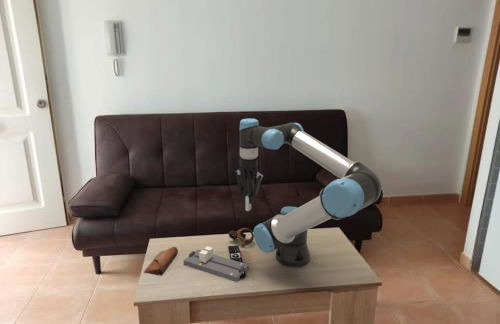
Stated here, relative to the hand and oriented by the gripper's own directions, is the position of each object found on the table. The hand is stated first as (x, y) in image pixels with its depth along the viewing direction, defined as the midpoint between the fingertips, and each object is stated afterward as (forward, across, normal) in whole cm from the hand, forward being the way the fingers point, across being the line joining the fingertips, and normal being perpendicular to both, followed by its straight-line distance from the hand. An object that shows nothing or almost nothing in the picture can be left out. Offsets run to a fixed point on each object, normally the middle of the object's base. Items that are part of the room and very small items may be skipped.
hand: (248, 209), depth 157 cm
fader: (+20, +13, +14) cm, 27 cm away
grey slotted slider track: (+22, +8, +14) cm, 28 cm away
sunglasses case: (+23, +30, +22) cm, 44 cm away
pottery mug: (+23, +8, -9) cm, 26 cm away
